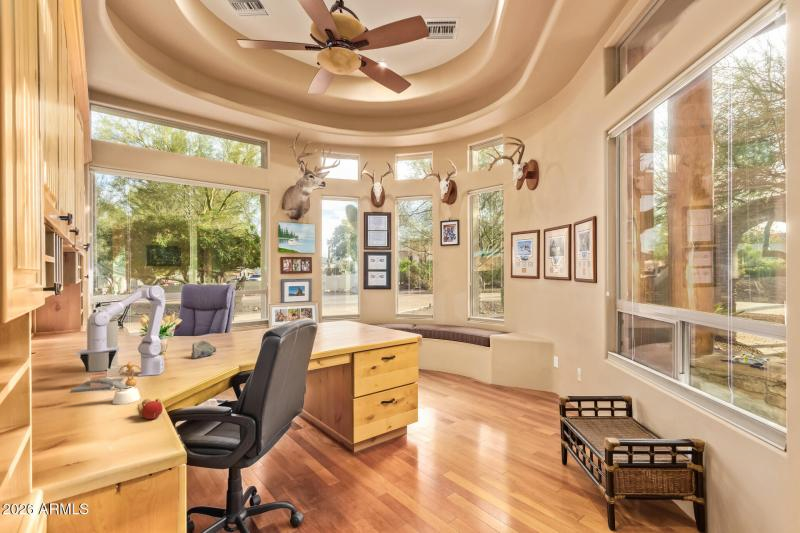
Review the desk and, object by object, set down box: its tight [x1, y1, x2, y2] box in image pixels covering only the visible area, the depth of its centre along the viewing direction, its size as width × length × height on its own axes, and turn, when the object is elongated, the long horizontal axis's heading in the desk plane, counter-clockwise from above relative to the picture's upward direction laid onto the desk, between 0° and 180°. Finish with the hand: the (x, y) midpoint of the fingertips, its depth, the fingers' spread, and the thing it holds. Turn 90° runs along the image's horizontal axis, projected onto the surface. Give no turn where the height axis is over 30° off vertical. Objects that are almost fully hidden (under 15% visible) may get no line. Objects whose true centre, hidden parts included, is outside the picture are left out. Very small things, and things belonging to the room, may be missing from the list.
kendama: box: [137, 398, 164, 420], centre depth 134 cm, size 8×6×18 cm
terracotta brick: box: [89, 371, 107, 386], centre depth 167 cm, size 5×6×4 cm
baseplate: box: [70, 377, 124, 393], centre depth 166 cm, size 14×14×1 cm
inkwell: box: [84, 377, 142, 406], centre depth 146 cm, size 9×18×10 cm, turn 116°
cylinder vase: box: [86, 319, 119, 373], centre depth 196 cm, size 12×12×25 cm
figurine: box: [119, 360, 142, 388], centre depth 163 cm, size 8×6×12 cm
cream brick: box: [106, 364, 125, 377], centre depth 185 cm, size 5×6×4 cm
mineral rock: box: [191, 339, 217, 360], centre depth 223 cm, size 13×11×10 cm
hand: (98, 369), depth 167 cm, fingers open, 7 cm apart
